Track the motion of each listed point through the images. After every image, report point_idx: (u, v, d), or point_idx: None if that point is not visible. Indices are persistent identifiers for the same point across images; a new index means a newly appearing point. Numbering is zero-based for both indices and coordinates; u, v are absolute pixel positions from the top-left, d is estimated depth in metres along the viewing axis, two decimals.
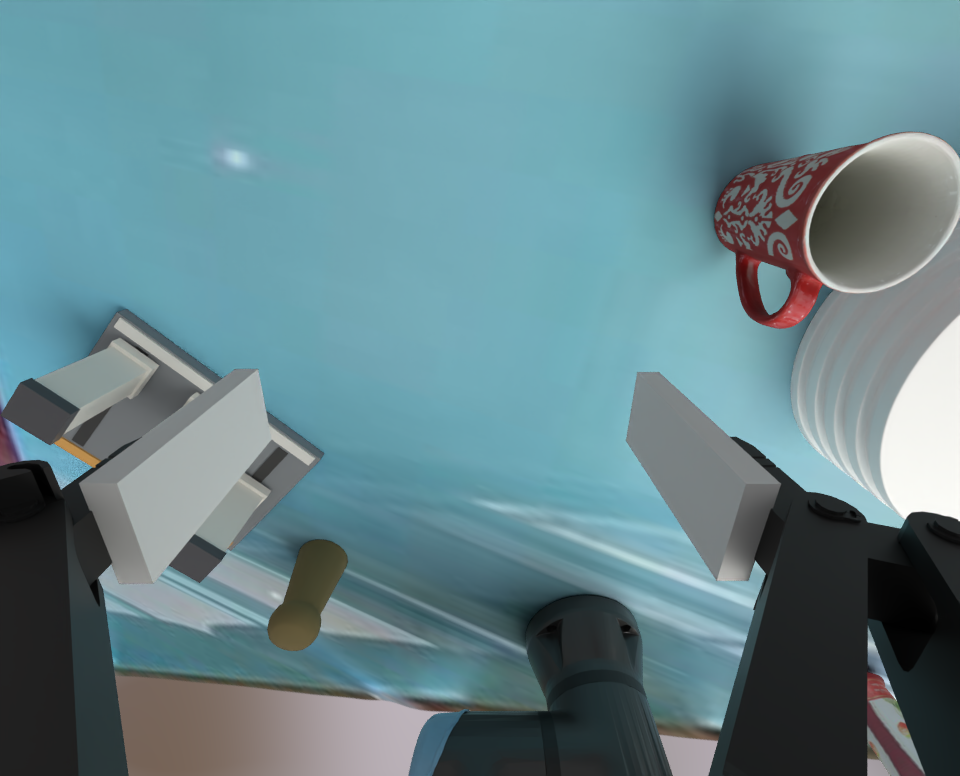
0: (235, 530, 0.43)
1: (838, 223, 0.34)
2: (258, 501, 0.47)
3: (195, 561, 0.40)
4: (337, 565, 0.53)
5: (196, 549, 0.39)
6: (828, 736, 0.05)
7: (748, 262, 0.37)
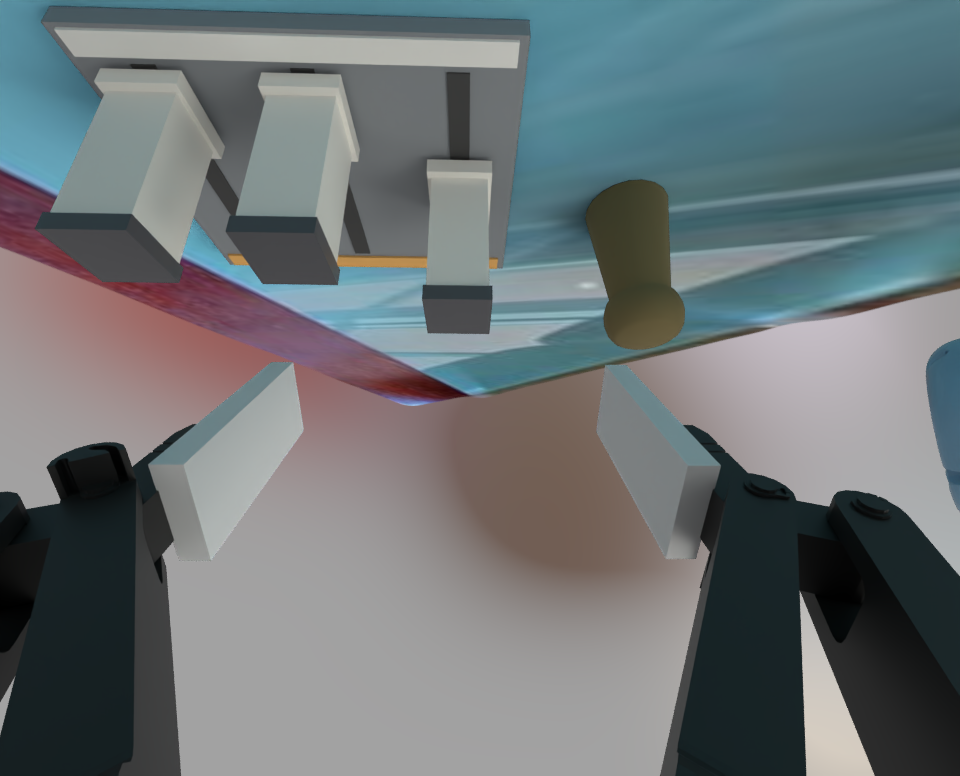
0: (482, 248, 0.26)
1: None
2: (485, 188, 0.27)
3: (463, 316, 0.26)
4: (657, 209, 0.31)
5: (451, 303, 0.24)
6: (770, 703, 0.05)
7: None
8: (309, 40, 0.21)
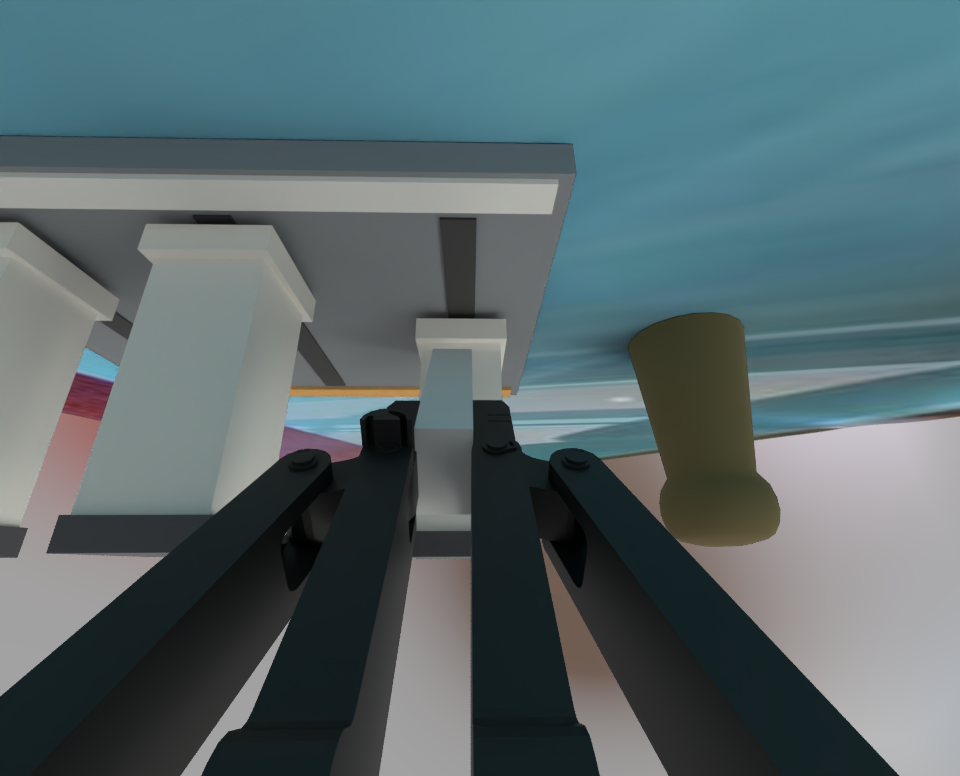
0: None
1: None
2: (496, 359, 0.20)
3: (467, 557, 0.18)
4: (734, 355, 0.22)
5: None
6: (533, 631, 0.06)
7: None
8: (214, 184, 0.13)
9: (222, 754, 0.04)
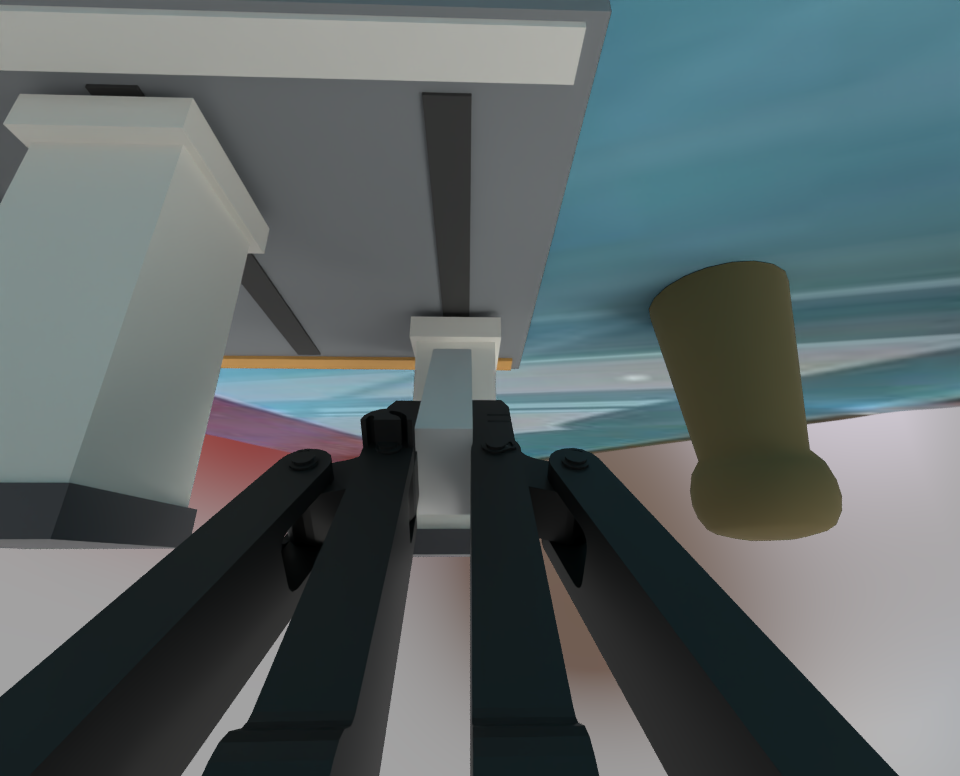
0: None
1: None
2: (491, 358, 0.20)
3: (460, 555, 0.18)
4: (781, 311, 0.19)
5: (442, 554, 0.17)
6: (533, 631, 0.06)
7: None
8: (101, 22, 0.09)
9: (223, 754, 0.04)
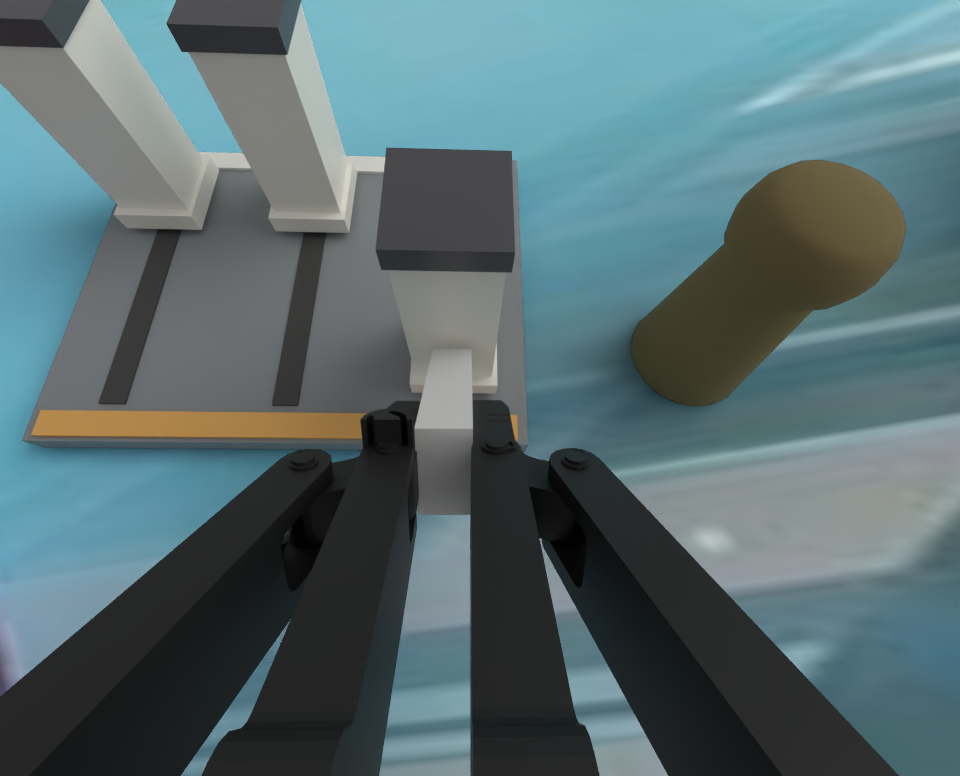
0: None
1: None
2: None
3: (458, 193, 0.13)
4: None
5: (437, 158, 0.13)
6: (533, 631, 0.06)
7: None
8: None
9: (223, 754, 0.04)
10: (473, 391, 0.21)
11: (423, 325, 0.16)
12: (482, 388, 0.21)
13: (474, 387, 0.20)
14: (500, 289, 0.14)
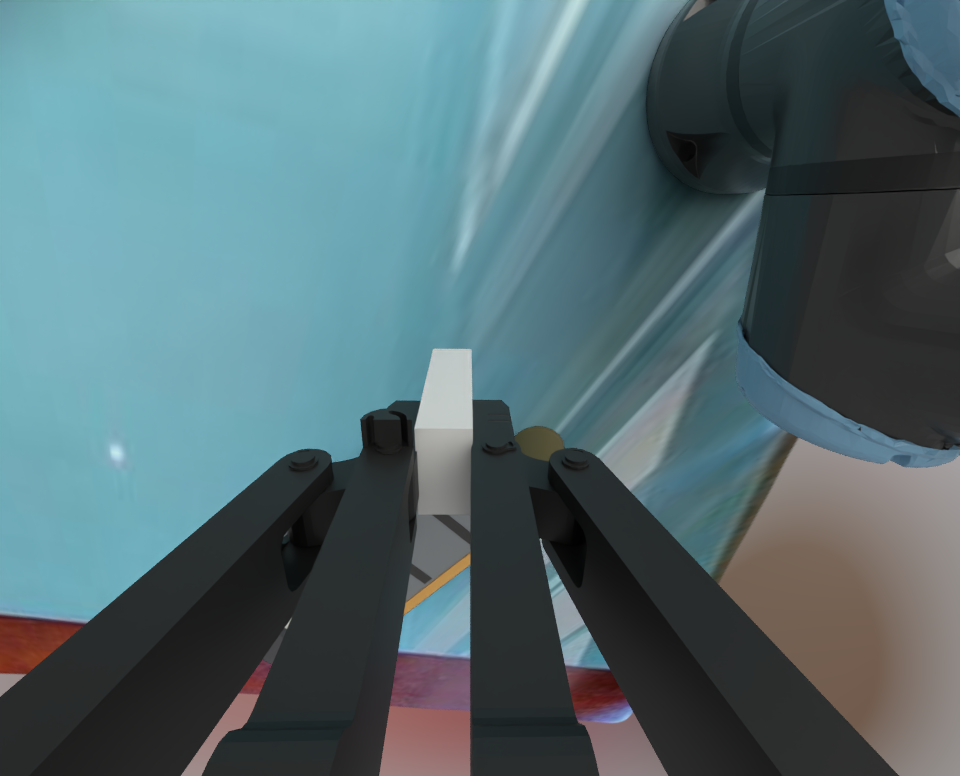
0: None
1: None
2: None
3: None
4: (531, 440, 0.45)
5: None
6: (533, 631, 0.06)
7: None
8: None
9: (222, 754, 0.04)
10: None
11: None
12: None
13: None
14: None
